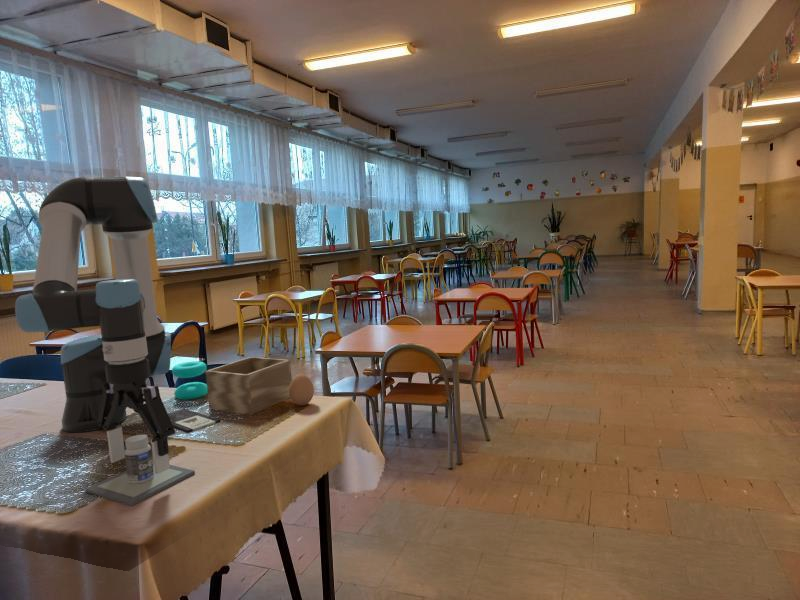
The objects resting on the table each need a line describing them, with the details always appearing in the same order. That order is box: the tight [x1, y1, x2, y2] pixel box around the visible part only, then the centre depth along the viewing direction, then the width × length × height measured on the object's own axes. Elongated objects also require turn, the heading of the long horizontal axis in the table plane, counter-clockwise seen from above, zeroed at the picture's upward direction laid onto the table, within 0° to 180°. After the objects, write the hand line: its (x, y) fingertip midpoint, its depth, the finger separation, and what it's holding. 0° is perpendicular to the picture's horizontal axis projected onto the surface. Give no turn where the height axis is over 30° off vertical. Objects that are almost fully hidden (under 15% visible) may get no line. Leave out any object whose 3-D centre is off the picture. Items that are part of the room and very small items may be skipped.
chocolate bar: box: [167, 408, 221, 434], centre depth 141 cm, size 9×1×18 cm
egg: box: [289, 373, 315, 407], centre depth 148 cm, size 7×7×9 cm
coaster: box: [84, 460, 196, 506], centre depth 105 cm, size 14×14×1 cm
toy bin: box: [204, 356, 293, 416], centre depth 153 cm, size 16×18×11 cm
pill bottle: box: [124, 434, 154, 484], centre depth 105 cm, size 5×5×8 cm
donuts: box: [171, 360, 208, 401], centre depth 164 cm, size 10×10×10 cm
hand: (139, 465), depth 105 cm, fingers open, 13 cm apart
